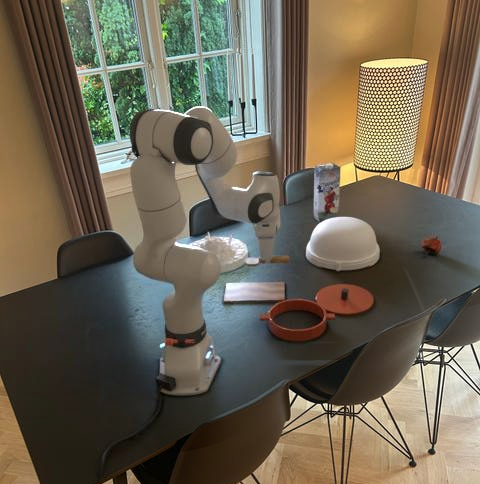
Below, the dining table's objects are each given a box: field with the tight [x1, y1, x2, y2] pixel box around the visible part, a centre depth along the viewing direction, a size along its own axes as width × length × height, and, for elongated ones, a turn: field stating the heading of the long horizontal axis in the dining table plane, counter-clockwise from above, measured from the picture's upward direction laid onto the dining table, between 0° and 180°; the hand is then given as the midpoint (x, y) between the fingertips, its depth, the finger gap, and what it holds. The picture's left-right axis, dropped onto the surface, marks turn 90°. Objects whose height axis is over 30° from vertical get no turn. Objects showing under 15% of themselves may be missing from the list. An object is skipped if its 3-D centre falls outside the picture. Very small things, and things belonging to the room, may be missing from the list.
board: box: [223, 281, 286, 305], centre depth 184 cm, size 13×22×1 cm, turn 86°
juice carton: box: [313, 162, 341, 224], centre depth 230 cm, size 9×10×27 cm
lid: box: [315, 283, 375, 316], centre depth 175 cm, size 20×20×4 cm
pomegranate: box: [421, 236, 442, 257], centre depth 200 cm, size 7×7×10 cm
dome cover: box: [305, 216, 381, 272], centre depth 203 cm, size 32×30×14 cm
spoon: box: [244, 254, 291, 268], centre depth 168 cm, size 15×5×3 cm, turn 85°
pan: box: [259, 298, 336, 342], centre depth 164 cm, size 19×24×4 cm
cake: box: [188, 231, 249, 274], centre depth 208 cm, size 28×28×10 cm
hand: (268, 259), depth 168 cm, fingers closed on spoon, 2 cm apart
